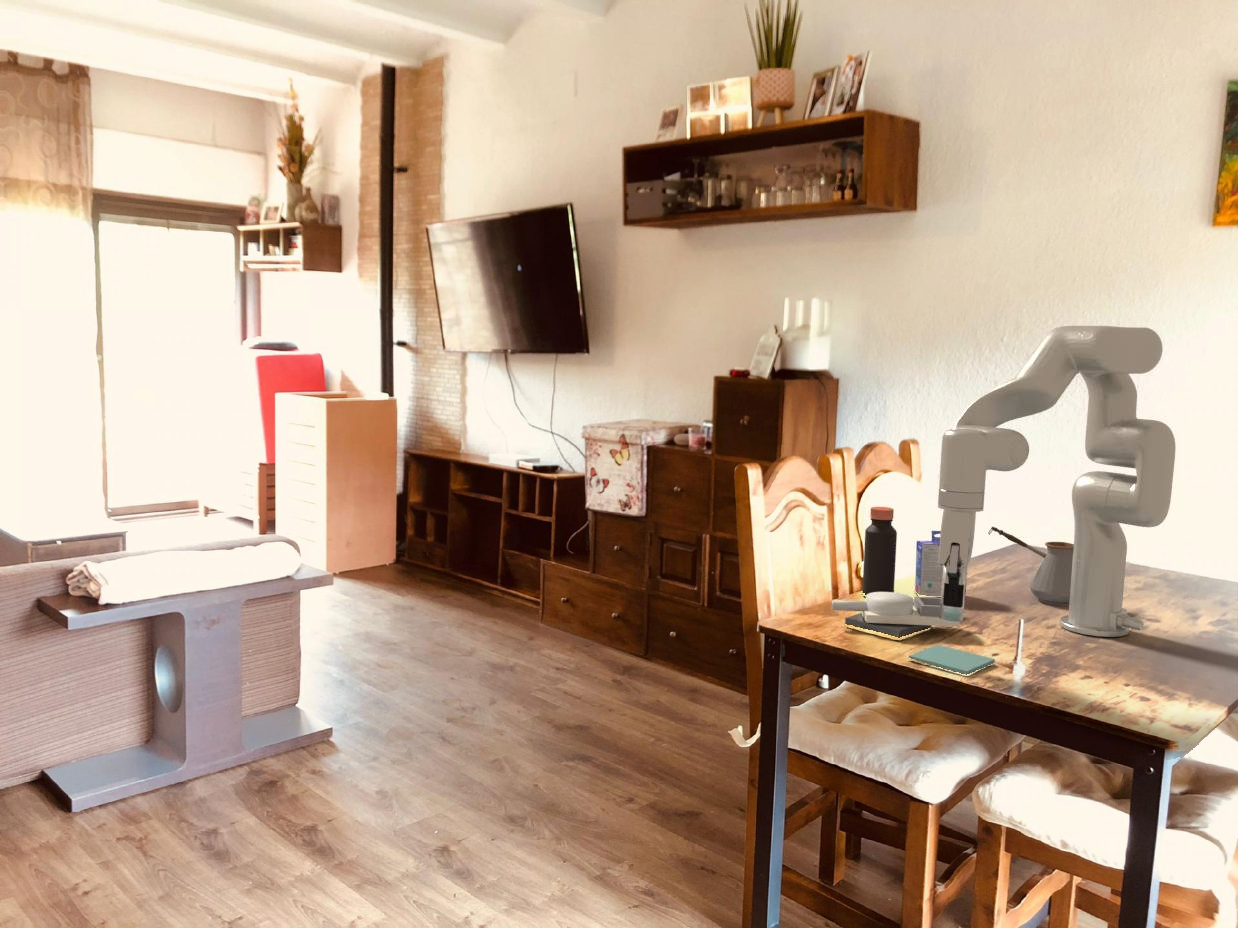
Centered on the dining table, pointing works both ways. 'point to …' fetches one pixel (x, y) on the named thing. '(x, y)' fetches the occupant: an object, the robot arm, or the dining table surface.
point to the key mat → (952, 659)
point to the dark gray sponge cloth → (885, 626)
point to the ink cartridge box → (928, 567)
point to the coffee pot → (1050, 571)
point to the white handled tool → (896, 609)
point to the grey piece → (947, 611)
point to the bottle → (880, 552)
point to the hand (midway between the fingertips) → (954, 602)
